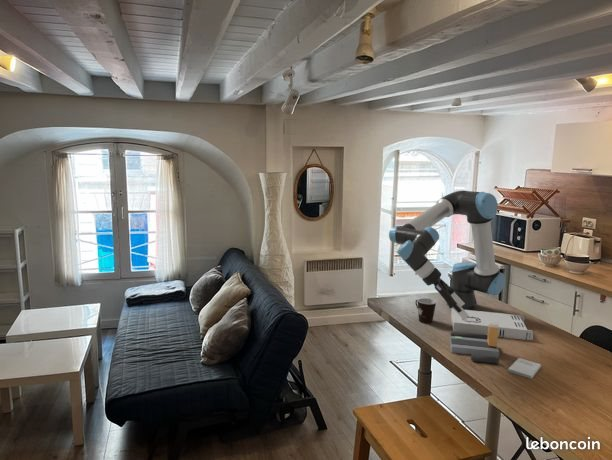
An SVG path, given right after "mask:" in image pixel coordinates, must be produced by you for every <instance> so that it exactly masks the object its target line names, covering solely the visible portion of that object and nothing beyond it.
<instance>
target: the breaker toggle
mask: <svg viewBox="0 0 612 460" xmlns="http://www.w3.org/2000/svg"><path fill="white" fill-rule="evenodd" d="M498 327H499V325H498V323H497V322H494V321H489V326H488V338H487V343H488V345H489V346H494V347H498Z"/></svg>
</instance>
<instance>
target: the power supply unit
mask: <svg viewBox="0 0 612 460" xmlns="http://www.w3.org/2000/svg"><path fill="white" fill-rule="evenodd" d="M465 311H466V312H467V314H468V316H467V317H466V318H464V319H462V317H461V316H460V315H459V314H458V313H457V312H456V311H455V310H454V309H453V308H451V313H450V314H451V316H450V317H451V326H452V331H454V332H464V333H474V334H484V335H488V326H489V321H494V322H497V323H498V325H499V327H498V337H500V338H507V339H516V340H527V341H528V340H529V341H533V337H534V331H533V330H532V329H528V328H527V326H526V324H525V315H522V314H521V315H520V314H512V313H511V314H510V313H501V312H493V311H492V312H491V311H480V310H465ZM498 337H497V338H498Z"/></svg>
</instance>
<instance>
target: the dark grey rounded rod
mask: <svg viewBox="0 0 612 460" xmlns="http://www.w3.org/2000/svg"><path fill="white" fill-rule="evenodd" d="M450 336H458V337H466V338H475V339H485V340H487V338H488V335H484V334H474V333H464V332H454V331H453V330H452V331H451V332H450Z"/></svg>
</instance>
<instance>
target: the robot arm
mask: <svg viewBox="0 0 612 460" xmlns="http://www.w3.org/2000/svg"><path fill="white" fill-rule="evenodd" d="M498 208H499V206H498V200H497V198H496V196H494V195H493V194H492V193H490V192H485V191H471V190H470V191H469V190H457V191H454V192H451V193H449V194H446V195H444V196H442V197H441V198H440V199H439V198H438V200H437V201H436V202H435V204H434V205H433V206H431V207H430V208H427V209H426V210H425V211H423V212H422V213H420V214H419V215H417V216H415V217H414V218H412V219H411V220H409V221H408V222H407V223H405V224H404V225H402V226H398V225H397V226H396V225H394V226H392V227H391V228H390V230H389V232H388V239H389V240H390V242H391V243H394V244H396V245H400V246H399V247H398V249H397V252H396V253H397V254H398V256H399V257H400V258H401V259H402V261H404V262H405V263H406V264H407V265H408V266H409V267H410V268H411V270H413V271H414V274H415V276H418V277H419V278H420V279H422V281H423V283H425V285H426V286H431V285H434V289H435V290H436V291H437V293H439V295H440V296H441V297H442V298H443V299H444V301H445V302H446V305H447V306H448V308H449V309H451V310H452V309H454V310H455V311H456V312H457V313H458V314H459V315H460V316H461V317H462V319H464V318H466V317H467V316H468V314H467V312H466V311H465V310H472V311H474V310H476V309H477V308H478V307H477V306H478V303H477V298H476V294H475V291H477V292H479V293H483V294H486V295H489V296H490V295H491V296H498V295H499V294H500V293H501V292H502V291H503V289H504V287H505V284H506V279H507V278H506V275H505V274H504V273H503V272H500V267H499V266H498V264H496V256H495V251H494V250H495V249H494V242H493V234H492V223H491V222H492V221H493V220H494V218H496V215H497V214H498ZM454 215H462V216H466V221H467V223H469V224H470V227H471V233H472V240H473V247H474V256H475V262H476V263H474V262H469V261H468V262H466V261H465V262H457V263H454V264H453V266H452V271H451V286H450V285H449V284H447V283H446V282H445V281H444V280H443V279H442V278H441V276H442V273H441V272H440V270H439V269H438V268H437V267H435V265H434V264H433V262H431V260H430V259H428V257H427V256H426V255H427V254H428V252H429V251H430V250H431V249H432V248H433V247H434V246H436V244H437V242H438V241H439V240H440V234H439V231H437V229H435V228H434V227H432V226H435V225H436V224H437V223H439V222H440V221H441V220H443V219H445V218H450V217H451V216H454Z"/></svg>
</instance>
